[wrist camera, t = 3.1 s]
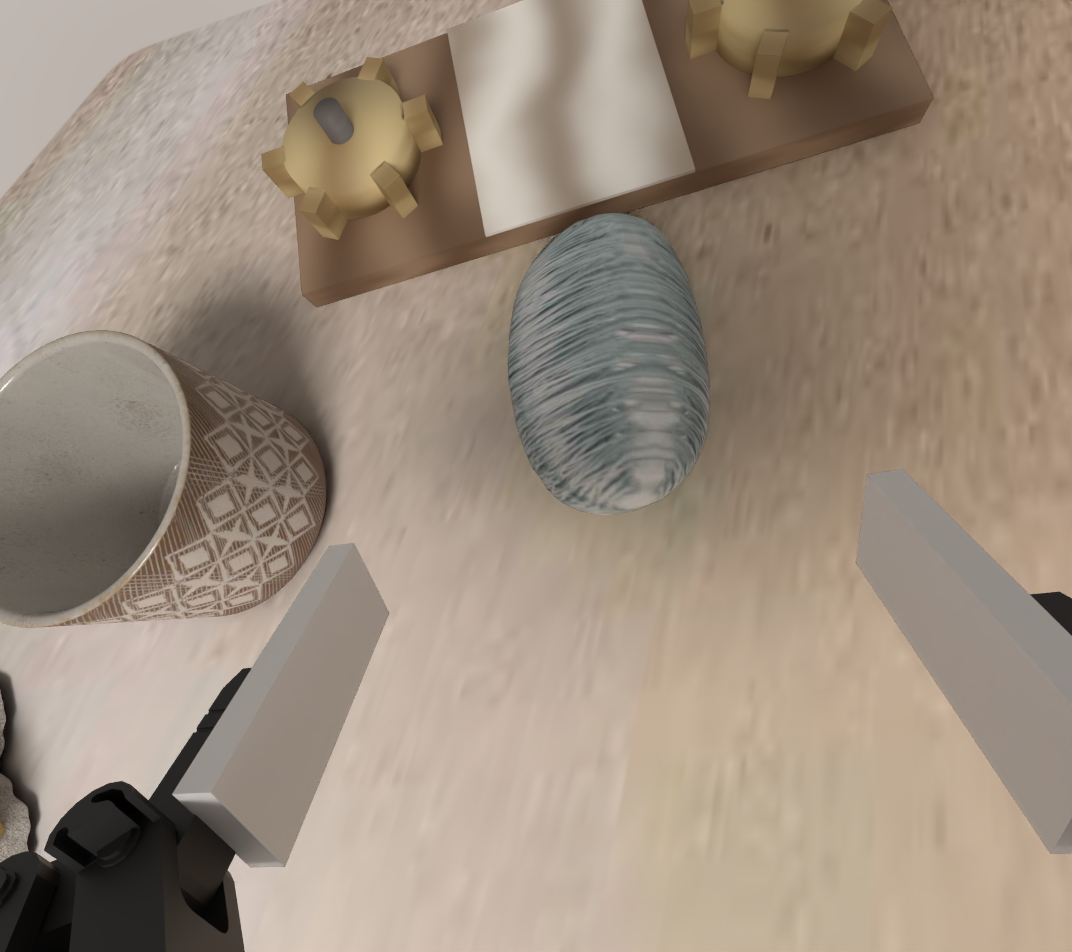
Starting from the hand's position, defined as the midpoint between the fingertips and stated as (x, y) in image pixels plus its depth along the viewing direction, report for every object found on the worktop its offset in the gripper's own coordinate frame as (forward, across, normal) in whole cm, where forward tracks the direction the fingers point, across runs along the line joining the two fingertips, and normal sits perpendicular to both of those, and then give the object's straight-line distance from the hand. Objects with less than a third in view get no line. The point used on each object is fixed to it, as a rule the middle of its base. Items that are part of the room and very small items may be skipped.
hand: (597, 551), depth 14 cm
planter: (+14, -22, -5) cm, 26 cm away
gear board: (+29, 0, +11) cm, 31 cm away
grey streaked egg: (+16, +1, -3) cm, 16 cm away
